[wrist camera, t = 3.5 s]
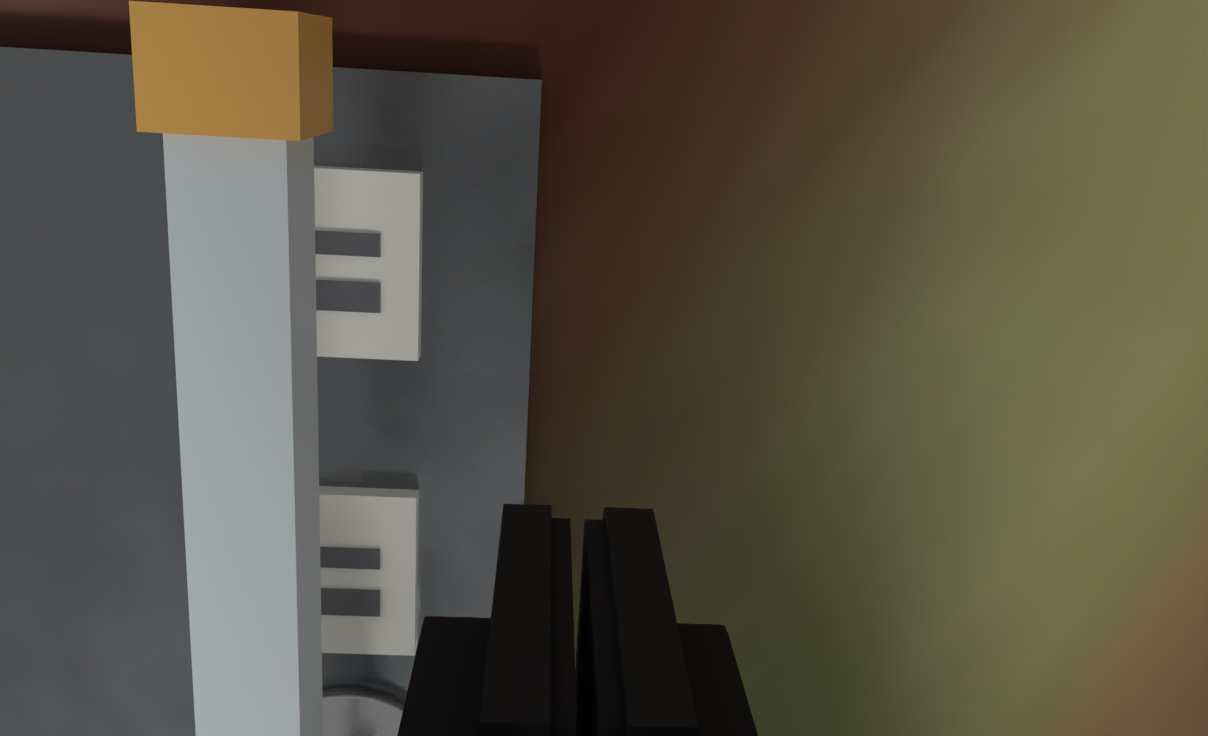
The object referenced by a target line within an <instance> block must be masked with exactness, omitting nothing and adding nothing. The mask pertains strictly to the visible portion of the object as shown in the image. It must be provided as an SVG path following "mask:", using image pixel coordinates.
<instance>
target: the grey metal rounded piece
mask: <svg viewBox="0 0 1208 736" xmlns="http://www.w3.org/2000/svg"><path fill="white" fill-rule="evenodd" d="M322 694H323V736H397V735H398V731H399V726H400V722H401V717H402V713H403V708H404V704H405V703H404V702H403V701H401V700H399V699H397V698H395V697H393V696H390V695H388V694H385V693H382V692H379V691H376V690H371V689H366V688H358V687H335V688H328V689H322Z"/></svg>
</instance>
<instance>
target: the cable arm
mask: <svg viewBox="0 0 1208 736" xmlns="http://www.w3.org/2000/svg"><path fill="white" fill-rule="evenodd" d="M129 12H130V28H131V44H132V61H133V77H134V93H135V109H136V126H137V132H150V133H163V148H164V166H165V184H166V203H167V221H168V239H169V257H170V276H171V294H172V312H173V330H174V348H175V367H176V385H177V403H178V421H179V440H180V458H181V476H182V494H183V513H184V531H185V549H186V567H187V586H188V604H189V622H190V640H191V659H192V677H193V695H194V713H195V732H196V736H323V694H322V631H321V569H320V507H319V444H318V382H317V320H316V257H315V195H314V137H315V136H319V135H322V134H325V133H328V132H331V131H333V47H332V18H330V17H325V16H319V15H314V14H308V13H303V12H298V11H282V10H266V9H251V8H235V7H220V6H204V5H188V4H173V3H157V2H142V1H129Z"/></svg>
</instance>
